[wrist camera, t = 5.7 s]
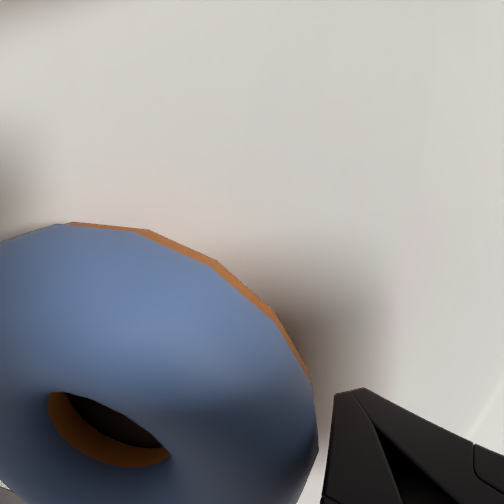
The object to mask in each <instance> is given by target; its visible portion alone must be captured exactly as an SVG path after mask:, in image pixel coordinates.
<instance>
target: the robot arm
mask: <svg viewBox="0 0 504 504" xmlns="http://www.w3.org/2000/svg"><path fill="white" fill-rule="evenodd" d="M320 504H504V455H501V454H499V453H496V452H494V451H491V450H489V449H487V448H484V447H482V446H480V445H478V444H474V445H473V442H471V441H469V440H467V439H464V438H462V437H460V436H458V435H456V434H454V433H452V432H450V431H448V430H446V429H444V428H442V427H439V426H437V425H435V424H433V423H431V422H429V421H427V420H425V419H423V418H421V417H419V416H417V415H415V414H414V413H412V412H410V411H408V410H406V409H404V408H402V407H400V406H398V405H396V404H394V403H392V402H390V401H389V400H387V399H385V398H383V397H381V396H379V395H377V394H376V393H374V392H372V391H370V390H368V389H366V388H359V389H354V390H350V391H346V392H341V393H337V394H335V395H334V403H333V413H332V423H331V432H330V440H329V448H328V456H327V463H326V470H325V477H324V483H323V490H322V498H321V500H320Z"/></svg>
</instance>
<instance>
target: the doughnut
mask: <svg viewBox="0 0 504 504" xmlns="http://www.w3.org/2000/svg"><path fill="white" fill-rule="evenodd" d="M66 392H67V393H70V394H74V395H78V396H81V397H85V398H89V399H92V400H94V401H96V402H98V403H100V404H102V405H104V406H106V407H109V408H111V409H113V410H115V411H117V412H119V413H121V414H124V415H125V416H127V417H128V418H129V419H131V420H132V421H134V422H135V423H136V424H138V425H139V426H141V427H142V428H144V429H145V430H147V431H148V432H150V433H151V434H152V435H153V436H154V437H155V438H156V439H157V440H158V441H159V442H160V443H161V444H162V445H163V447H160V448H141V447H136V446H131V445H127V444H123V443H121V442H119V441H116V440H114V439H112V438H110V437H107V436H105V435H103V434H102V433H100V432H99V431H98V430H96V429H95V428H94V427H92V426H91V425H90V424H88V423H87V422H86V421H85V420H84V419H83V418H82V417H81V416H80V415H79V414H78V412H77V411H76V410H75V409H74V408H73V406H72V404H71V402H70V400H69V398H68V396H67V394H66ZM318 451H319V447H318V433H317V424H316V416H315V407H314V399H313V391H312V384H311V381H310V373H309V370H308V368H307V366H306V365H305V363H304V361H303V359H302V358H301V356H300V354H299V353H298V351H297V349H296V347H295V346H294V344H293V342H292V341H291V339H290V337H289V335H288V334H287V332H286V330H285V329H284V327H283V325H282V323H281V322H280V320H279V318H278V316H277V315H276V314H275V312H274V311H273V310H272V309H271V308H270V307H269V306H268V305H267V304H266V303H264V302H263V301H262V300H261V299H260V298H259V297H257V296H256V295H255V294H254V293H253V292H252V291H251V290H249V289H248V288H247V287H246V286H245V285H244V284H243V283H241V282H240V281H239V280H238V279H237V278H236V277H235V276H234V275H232V274H231V273H230V272H229V271H228V270H227V269H226V268H224V267H223V266H222V265H221V264H220V263H219V262H218V261H217V260H214V259H212V258H210V257H208V256H205V255H203V254H201V253H199V252H196V251H194V250H192V249H190V248H188V247H185V246H183V245H181V244H179V243H177V242H174V241H172V240H170V239H168V238H166V237H163V236H161V235H159V234H157V233H155V232H153V231H150V230H146V229H137V228H128V227H118V226H109V225H99V224H90V223H79V222H71V223H67V224H54V225H51V226H48V227H44V228H41V229H38V230H35V231H32V232H29V233H26V234H23V235H20V236H17V237H14V238H11V239H8V240H5V241H2V242H1V243H0V480H1V481H2V482H3V483H4V484H5V485H6V486H7V487H8V488H9V489H10V490H12V491H13V492H14V493H15V494H16V495H17V496H18V497H19V498H20V499H21V500H23V501H24V502H25V503H27V504H296V503H297V501H298V499H299V497H300V495H301V493H302V491H303V489H304V486H305V484H306V481H307V479H308V476H309V474H310V471H311V469H312V466H313V464H314V461H315V459H316V456H317V453H318Z"/></svg>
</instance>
